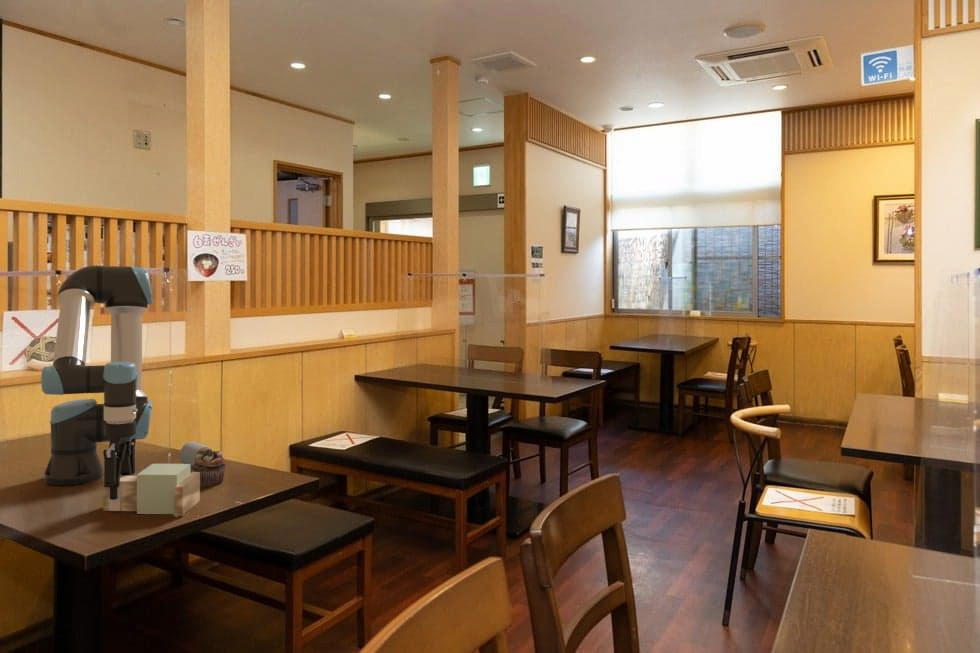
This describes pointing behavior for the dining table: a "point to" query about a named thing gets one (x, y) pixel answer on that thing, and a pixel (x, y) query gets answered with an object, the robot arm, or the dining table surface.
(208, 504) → the dining table surface
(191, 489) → the board
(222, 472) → the cupcake
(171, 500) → the socket block
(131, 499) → the light wood rectangular block
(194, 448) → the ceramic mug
